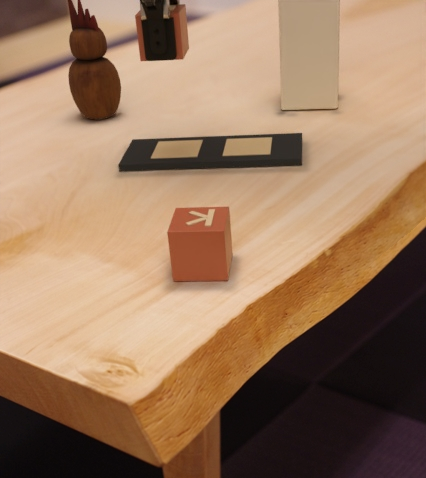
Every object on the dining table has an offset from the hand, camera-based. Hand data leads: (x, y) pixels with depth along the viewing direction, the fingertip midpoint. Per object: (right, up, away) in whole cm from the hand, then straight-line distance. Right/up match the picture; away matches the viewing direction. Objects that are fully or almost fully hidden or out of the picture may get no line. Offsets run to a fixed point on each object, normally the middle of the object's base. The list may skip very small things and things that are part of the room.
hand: (165, 51), depth 78 cm
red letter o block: (0, 0, 0) cm, 0 cm away
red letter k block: (+4, -24, -16) cm, 29 cm away
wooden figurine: (-10, -1, +21) cm, 24 cm away
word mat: (+5, -10, +6) cm, 12 cm away
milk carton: (+18, 0, +19) cm, 26 cm away
